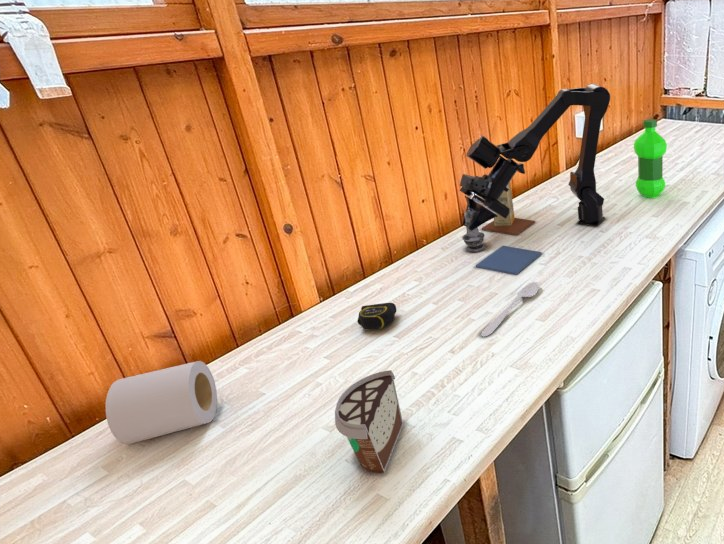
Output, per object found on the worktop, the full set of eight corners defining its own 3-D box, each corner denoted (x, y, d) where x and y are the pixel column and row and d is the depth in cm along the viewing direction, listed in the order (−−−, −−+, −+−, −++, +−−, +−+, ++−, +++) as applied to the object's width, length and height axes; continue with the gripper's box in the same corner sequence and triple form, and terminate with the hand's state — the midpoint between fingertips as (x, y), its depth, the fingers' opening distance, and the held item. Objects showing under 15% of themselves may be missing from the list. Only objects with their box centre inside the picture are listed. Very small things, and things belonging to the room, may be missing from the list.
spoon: (544, 289, 119) (543, 282, 119) (491, 338, 102) (490, 332, 102) (528, 286, 121) (528, 279, 120) (474, 334, 104) (473, 327, 103)
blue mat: (541, 254, 136) (541, 252, 136) (516, 274, 126) (516, 272, 126) (503, 247, 141) (503, 245, 140) (476, 267, 131) (475, 264, 130)
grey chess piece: (489, 243, 143) (483, 203, 138) (482, 253, 138) (475, 211, 133) (468, 243, 144) (461, 203, 139) (460, 253, 138) (453, 211, 133)
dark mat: (534, 222, 156) (534, 220, 156) (516, 235, 148) (516, 233, 147) (501, 217, 160) (501, 215, 160) (481, 229, 152) (481, 228, 152)
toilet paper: (126, 458, 78) (96, 407, 74) (150, 414, 86) (124, 366, 82) (206, 436, 81) (182, 386, 77) (222, 396, 90) (200, 349, 85)
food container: (366, 420, 83) (351, 371, 79) (406, 417, 84) (392, 367, 79) (335, 485, 72) (315, 431, 68) (380, 481, 72) (363, 427, 68)
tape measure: (399, 313, 112) (395, 298, 110) (392, 331, 106) (388, 316, 104) (365, 317, 111) (361, 302, 109) (357, 336, 105) (352, 320, 103)
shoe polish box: (498, 219, 158) (493, 181, 152) (514, 218, 157) (510, 181, 152) (494, 225, 153) (489, 187, 148) (511, 225, 153) (506, 186, 148)
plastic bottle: (636, 190, 179) (635, 117, 169) (667, 190, 178) (667, 117, 167) (633, 200, 170) (631, 124, 160) (665, 200, 169) (665, 124, 158)
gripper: (461, 155, 140) (428, 203, 138) (492, 169, 126) (457, 223, 125) (491, 176, 147) (461, 222, 146) (524, 192, 134) (491, 243, 133)
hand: (466, 227), depth 137 cm, fingers closed on grey chess piece, 3 cm apart
